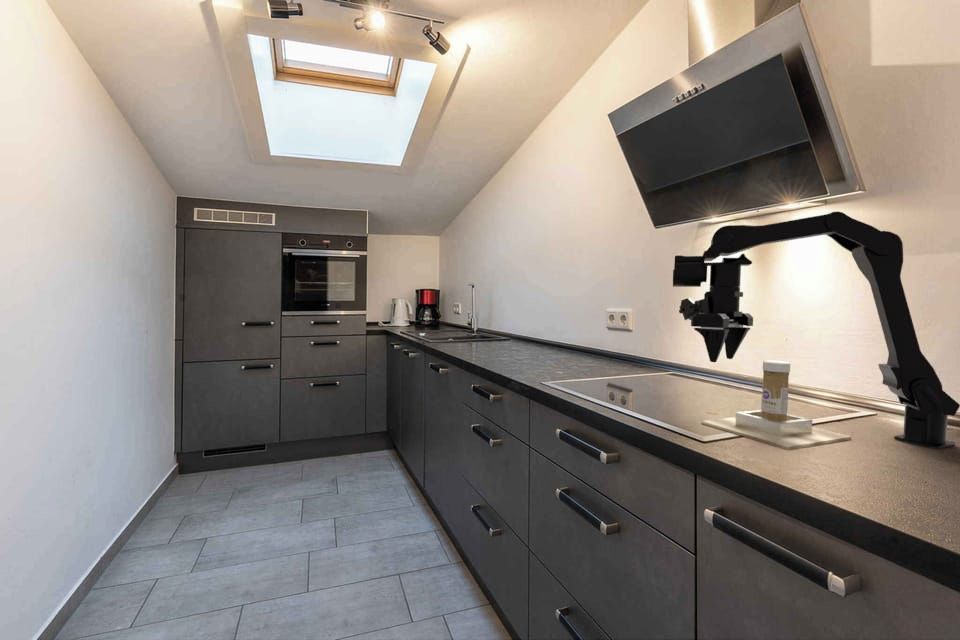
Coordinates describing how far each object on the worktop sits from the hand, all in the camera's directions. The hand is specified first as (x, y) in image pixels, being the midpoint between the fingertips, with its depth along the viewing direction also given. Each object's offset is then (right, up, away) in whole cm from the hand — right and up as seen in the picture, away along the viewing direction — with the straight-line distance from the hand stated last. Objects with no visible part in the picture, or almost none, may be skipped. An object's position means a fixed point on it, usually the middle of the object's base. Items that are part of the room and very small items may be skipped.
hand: (721, 360), depth 98 cm
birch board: (+7, -13, -7) cm, 16 cm away
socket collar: (+7, -13, -7) cm, 16 cm away
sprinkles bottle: (+7, -13, -7) cm, 16 cm away
